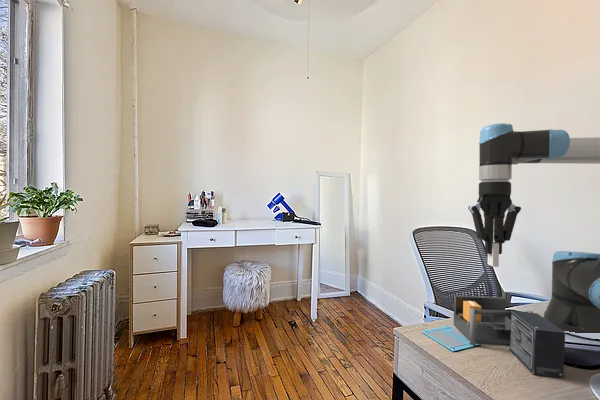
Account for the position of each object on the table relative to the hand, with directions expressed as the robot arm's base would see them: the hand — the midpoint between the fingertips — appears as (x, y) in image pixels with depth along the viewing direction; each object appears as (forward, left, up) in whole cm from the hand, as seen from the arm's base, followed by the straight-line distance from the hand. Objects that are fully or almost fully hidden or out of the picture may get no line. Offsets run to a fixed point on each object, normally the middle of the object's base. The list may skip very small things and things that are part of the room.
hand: (492, 265), depth 80 cm
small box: (-3, +12, -21) cm, 24 cm away
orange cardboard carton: (+5, 0, -16) cm, 17 cm away
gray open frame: (+1, +5, -20) cm, 21 cm away
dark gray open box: (+1, 0, -20) cm, 20 cm away
